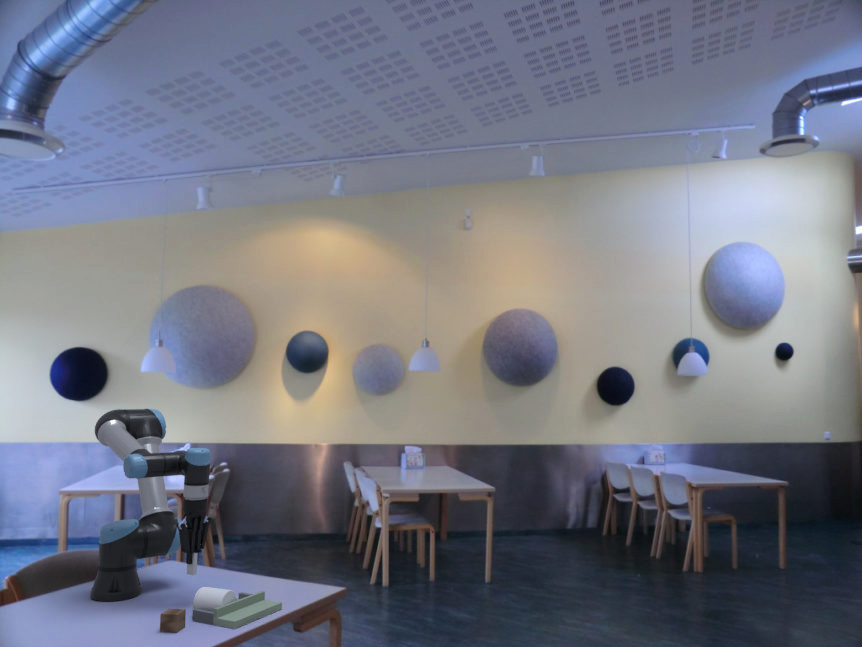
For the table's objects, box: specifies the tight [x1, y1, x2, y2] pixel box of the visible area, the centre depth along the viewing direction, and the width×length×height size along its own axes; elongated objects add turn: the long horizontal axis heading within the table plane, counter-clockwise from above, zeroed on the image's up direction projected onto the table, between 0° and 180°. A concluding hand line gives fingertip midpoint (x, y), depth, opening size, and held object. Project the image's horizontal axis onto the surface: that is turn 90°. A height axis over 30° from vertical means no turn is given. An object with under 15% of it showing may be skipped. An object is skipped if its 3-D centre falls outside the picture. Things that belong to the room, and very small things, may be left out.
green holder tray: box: [192, 590, 283, 630], centre depth 217 cm, size 16×21×4 cm
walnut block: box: [159, 608, 187, 634], centre depth 203 cm, size 5×5×5 cm
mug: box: [192, 586, 239, 612], centre depth 217 cm, size 12×10×8 cm
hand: (191, 573), depth 227 cm, fingers closed
